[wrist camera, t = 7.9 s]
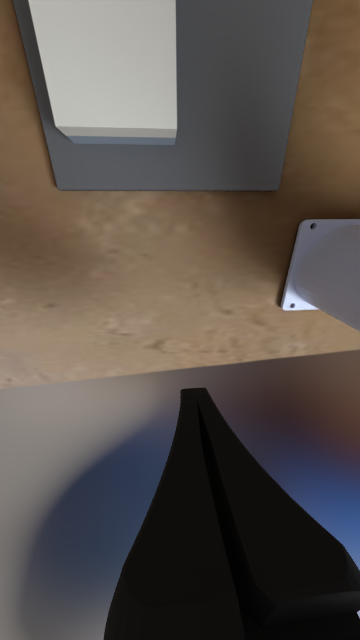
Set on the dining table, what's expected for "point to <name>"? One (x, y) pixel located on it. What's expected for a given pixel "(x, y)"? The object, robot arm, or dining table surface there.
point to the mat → (199, 104)
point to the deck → (110, 68)
